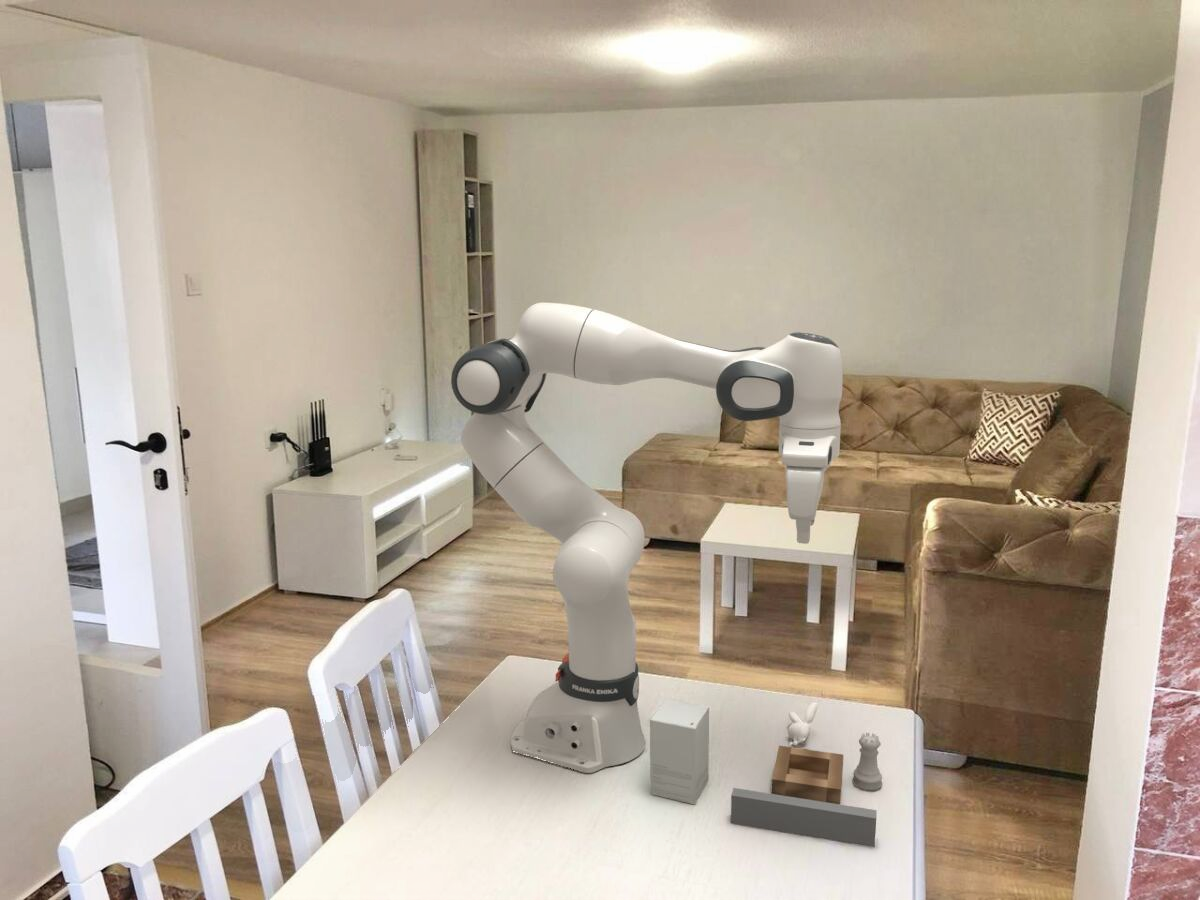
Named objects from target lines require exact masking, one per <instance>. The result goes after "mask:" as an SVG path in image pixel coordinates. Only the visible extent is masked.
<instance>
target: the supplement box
mask: <svg viewBox="0 0 1200 900" xmlns="http://www.w3.org/2000/svg"><path fill="white" fill-rule="evenodd" d="M649 746H650V747H649V769H650V770H649V773H650V774H649V777H650V778H649V780H650V783H649V786H650V794H651V796H652V795H653V796H658V797H661V798H667V799H670V800H675V801H678V802H683V803H687V804H692V805H695V804H696V802H697V800H698V799H699V797H700V796H701V794H702V792H703V790H704V789H705V787H706V785H707V784H708V782H709V779H710V778H709V777H710V776H709V772H710V770H709V769H710V768H709V767H710V766H709V764H710V763H709V762H710V761H709V759H710V758H709V757H710V755H709V754H710V707H709V706H705V705H704V706H703V705H699V704H693V703H688V702H683V701H677V700H673V699H668V698H666V699H665V700H664V701H663V702H662V704H661V705H660V707H658V709H657V710H656V711H655V713H653V715H652V716H651V717H650V718H649Z"/></svg>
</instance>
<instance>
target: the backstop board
mask: <svg viewBox="0 0 1200 900" xmlns="http://www.w3.org/2000/svg"><path fill="white" fill-rule="evenodd" d="M730 799H731V801H730V824H732V825H733V824H734V825H738V826H744V827H749V828H750V827H751V828H756V829H760V830H761V829H762V830H769V831H775V832H780V833H786V834H791V835H797V836H798V835H799V836H804V837H811V838H815V839H821V840H822V839H823V840H829V841H834V842H839V843H846V844H854V845H857V846H864V847H870V848H876V847H875V846H876V831H877V830H876V829H877V813H878V812H877V809H873V808H871V809H870V808H867V807H866V808H865V807H858V806H852V805H845V804H841V803H840V804H834V803H827V802H821V801H814V800H808V799H802V798H795V797H789V796H783V795H776V794H771V792H762V791H755V790H749V789H743V788H737V787H733V789H732V793H731V798H730Z"/></svg>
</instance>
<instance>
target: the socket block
mask: <svg viewBox="0 0 1200 900" xmlns="http://www.w3.org/2000/svg"><path fill="white" fill-rule="evenodd" d="M843 769H844V754H842V753H834V752H827V751H821V750H815V749H814V750H812V749H808V748H807V749H806V748H800V747H792V746H791V747H790V746H786V745H778V748H777V752H776V756H775V762H774V768H773V772H772V776H771V789H770V790H771V791H770V794H776V795H783V796H789V797H795V798H802V799H808V800H814V801H821V802H827V803H834V804H840V805H841V801H842V800H841V797H842V786H843V785H842V784H843V771H844V770H843Z"/></svg>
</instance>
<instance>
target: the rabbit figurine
mask: <svg viewBox="0 0 1200 900" xmlns="http://www.w3.org/2000/svg"><path fill="white" fill-rule="evenodd" d="M817 710H818V703H817V702H816V701H814V702H812V703H810V705H808V707H807V708H806V710H805V712H804V717H803V719H804V721H803V720H801V719H800V717H799V715H798V714H797V713H796V712H794V711H789V712H788V717H789V719H790V721H791V723H792V724H791V725H790V726H789V727H788V730H787V734H788V736H789V738H791V739H793V740H792V741H790V742H789V747H790V746H791V747H792V746H793V745H794V746H798V744H801V743H802V744H803V743H804V742H805V741H806V739H807V738H809V735H810V731H811V730H810V725H809V724H810V723H812V722H813V721H814V719H815V716H816V713H817Z"/></svg>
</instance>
